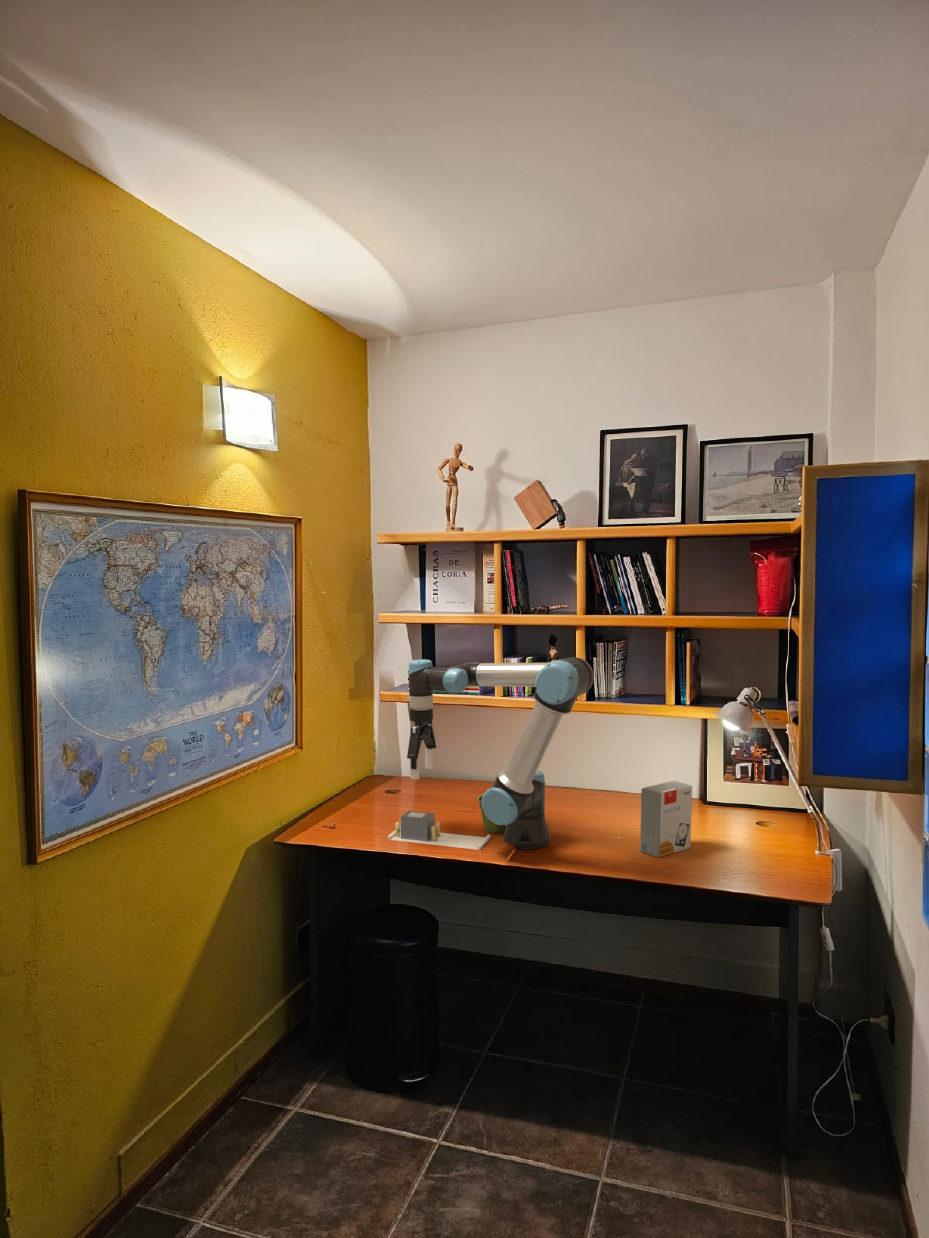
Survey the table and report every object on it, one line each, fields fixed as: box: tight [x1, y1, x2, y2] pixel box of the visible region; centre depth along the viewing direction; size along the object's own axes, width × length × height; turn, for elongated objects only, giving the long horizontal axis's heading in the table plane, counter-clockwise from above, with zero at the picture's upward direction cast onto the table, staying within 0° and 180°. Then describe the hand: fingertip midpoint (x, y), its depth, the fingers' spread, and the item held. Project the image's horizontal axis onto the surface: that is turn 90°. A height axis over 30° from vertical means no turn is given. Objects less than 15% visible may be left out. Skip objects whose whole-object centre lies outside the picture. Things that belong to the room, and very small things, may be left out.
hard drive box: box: [639, 780, 693, 858], centre depth 246 cm, size 16×8×20 cm, turn 126°
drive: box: [400, 810, 436, 841], centre depth 257 cm, size 9×7×7 cm
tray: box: [387, 818, 491, 851], centre depth 255 cm, size 31×11×6 cm, turn 71°
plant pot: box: [476, 794, 506, 834], centre depth 263 cm, size 12×12×11 cm
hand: (422, 773), depth 257 cm, fingers open, 13 cm apart
